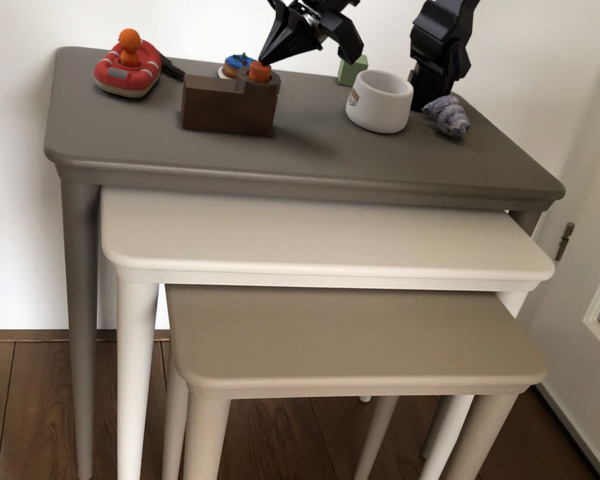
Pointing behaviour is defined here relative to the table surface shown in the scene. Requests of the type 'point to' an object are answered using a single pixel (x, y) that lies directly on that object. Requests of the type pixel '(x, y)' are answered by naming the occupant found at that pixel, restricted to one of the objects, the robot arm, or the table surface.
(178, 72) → the bird model
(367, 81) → the mug
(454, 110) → the grub
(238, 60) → the dessert
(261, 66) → the button
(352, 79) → the green cube block
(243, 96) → the brown button base
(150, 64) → the toy boat
